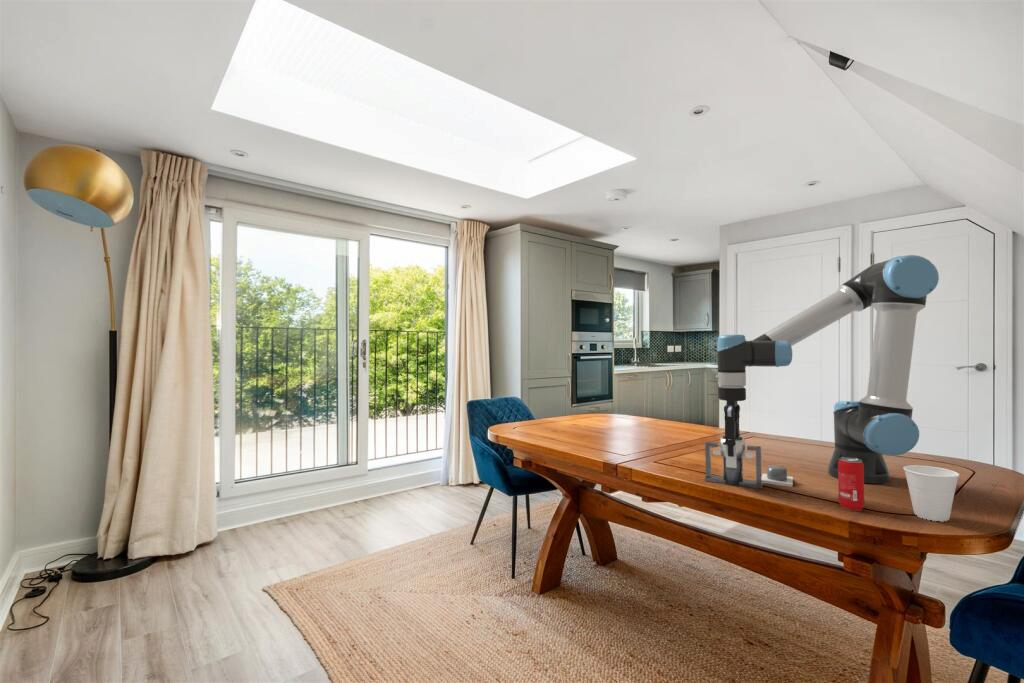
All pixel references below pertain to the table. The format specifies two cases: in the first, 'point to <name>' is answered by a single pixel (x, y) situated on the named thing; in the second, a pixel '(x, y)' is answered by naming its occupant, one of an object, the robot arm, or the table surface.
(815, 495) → the table surface
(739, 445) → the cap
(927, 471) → the cup
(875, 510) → the table surface
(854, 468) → the beverage can
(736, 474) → the gray u-shaped frame
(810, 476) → the table surface
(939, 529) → the table surface
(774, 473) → the stand
